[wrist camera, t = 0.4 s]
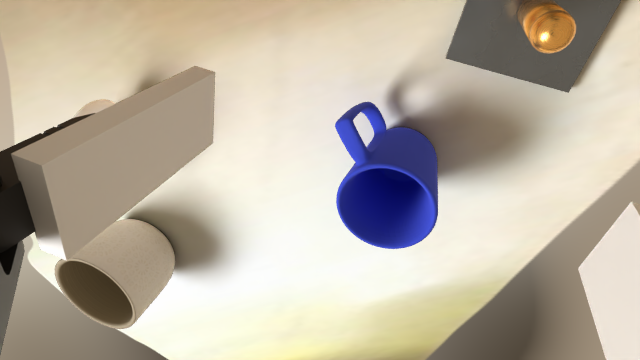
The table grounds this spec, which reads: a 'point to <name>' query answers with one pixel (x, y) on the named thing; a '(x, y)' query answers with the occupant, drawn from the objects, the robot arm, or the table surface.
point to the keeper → (531, 37)
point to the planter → (118, 273)
